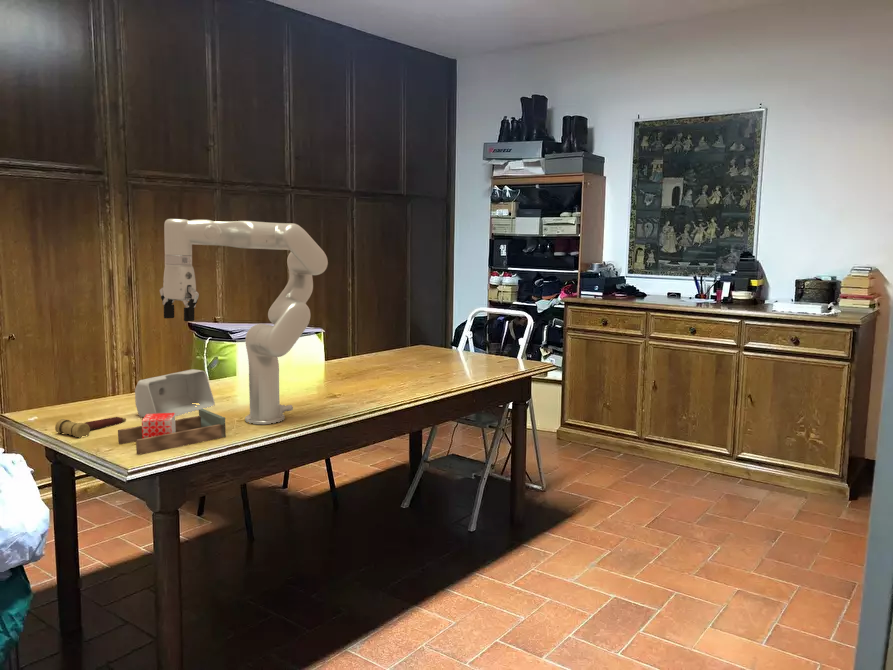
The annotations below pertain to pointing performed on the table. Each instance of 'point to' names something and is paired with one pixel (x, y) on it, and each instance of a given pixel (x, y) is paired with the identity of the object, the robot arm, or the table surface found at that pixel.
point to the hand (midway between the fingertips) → (179, 319)
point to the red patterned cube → (158, 424)
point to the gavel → (84, 426)
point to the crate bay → (177, 433)
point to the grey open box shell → (173, 393)
